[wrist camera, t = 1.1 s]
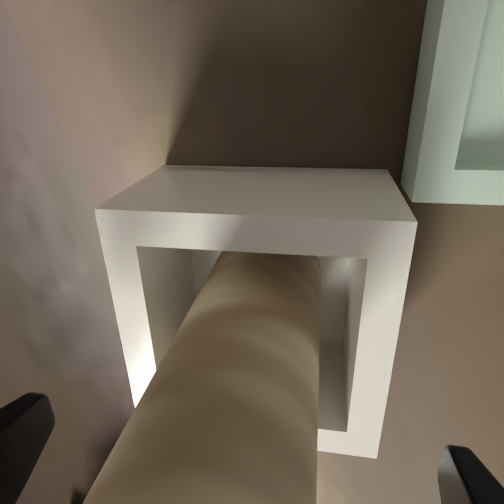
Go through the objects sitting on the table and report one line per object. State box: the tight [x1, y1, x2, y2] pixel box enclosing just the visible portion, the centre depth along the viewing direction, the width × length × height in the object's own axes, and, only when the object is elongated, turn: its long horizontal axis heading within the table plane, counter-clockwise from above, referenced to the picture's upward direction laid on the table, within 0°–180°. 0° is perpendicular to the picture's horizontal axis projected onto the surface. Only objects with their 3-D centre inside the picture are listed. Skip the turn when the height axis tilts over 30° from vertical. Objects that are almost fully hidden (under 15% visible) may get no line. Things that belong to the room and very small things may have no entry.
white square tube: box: [94, 165, 418, 459], centre depth 13 cm, size 8×8×5 cm
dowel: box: [83, 251, 321, 504], centre depth 11 cm, size 4×4×10 cm
